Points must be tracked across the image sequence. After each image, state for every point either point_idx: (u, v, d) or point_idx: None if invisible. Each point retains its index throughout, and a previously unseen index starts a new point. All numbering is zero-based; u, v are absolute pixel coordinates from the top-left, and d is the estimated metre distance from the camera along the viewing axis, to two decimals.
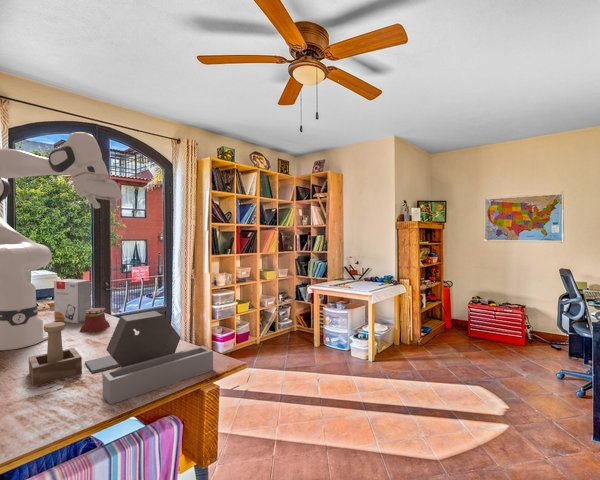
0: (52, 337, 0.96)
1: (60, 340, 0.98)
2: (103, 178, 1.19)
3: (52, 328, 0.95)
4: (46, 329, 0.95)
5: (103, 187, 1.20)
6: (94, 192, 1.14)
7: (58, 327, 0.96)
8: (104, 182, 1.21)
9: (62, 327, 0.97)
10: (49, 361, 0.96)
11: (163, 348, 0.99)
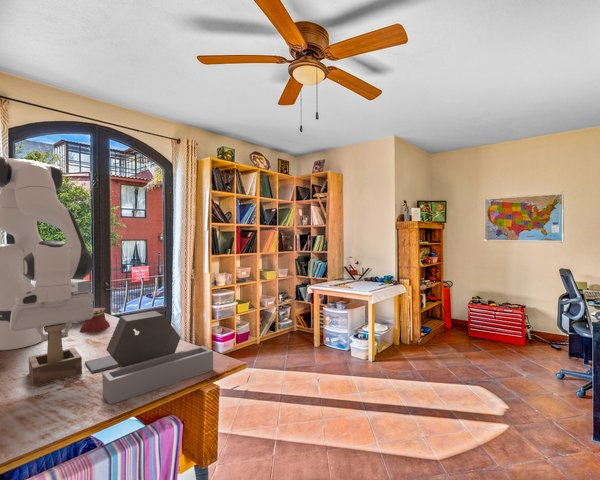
0: (52, 337, 0.96)
1: (60, 340, 0.98)
2: (53, 305, 0.95)
3: (52, 328, 0.95)
4: (46, 329, 0.95)
5: (54, 314, 0.96)
6: (29, 327, 0.93)
7: (58, 327, 0.96)
8: (60, 306, 0.98)
9: (62, 327, 0.97)
10: (49, 361, 0.96)
11: (163, 348, 0.99)
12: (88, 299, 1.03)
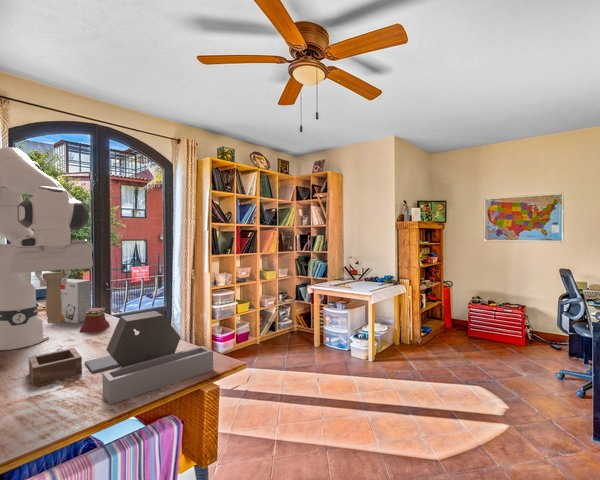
0: (51, 285, 0.96)
1: (59, 289, 0.98)
2: (52, 250, 0.95)
3: (50, 275, 0.95)
4: (44, 276, 0.95)
5: (53, 260, 0.96)
6: (28, 270, 0.92)
7: (56, 275, 0.96)
8: (59, 252, 0.97)
9: (60, 275, 0.97)
10: (47, 309, 0.96)
11: (163, 348, 0.99)
12: (87, 248, 1.02)
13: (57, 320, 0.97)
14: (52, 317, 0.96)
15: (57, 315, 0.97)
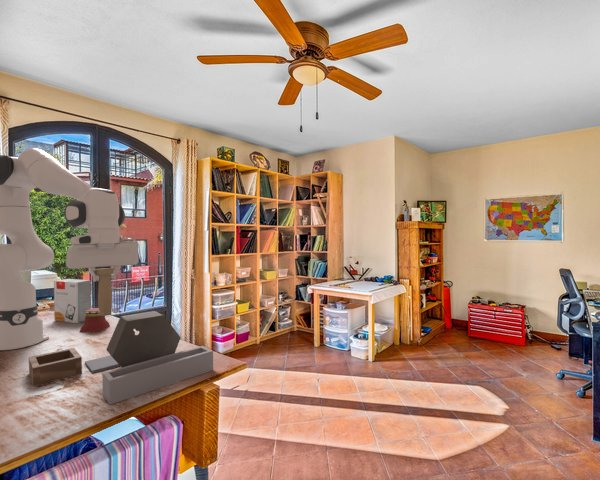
0: (103, 280, 1.03)
1: (109, 284, 1.05)
2: (105, 247, 1.02)
3: (103, 271, 1.02)
4: (97, 272, 1.02)
5: (104, 256, 1.03)
6: (84, 266, 0.99)
7: (108, 270, 1.03)
8: (110, 249, 1.04)
9: (111, 271, 1.04)
10: (100, 302, 1.03)
11: (163, 348, 0.99)
12: (134, 245, 1.09)
13: (108, 313, 1.04)
14: (104, 310, 1.03)
15: (108, 308, 1.04)
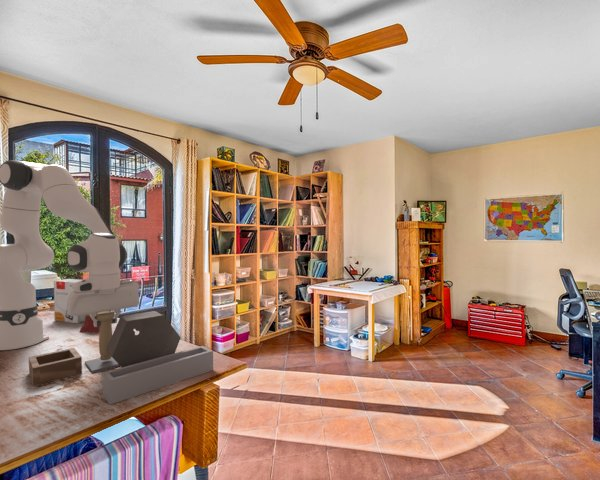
0: (104, 325, 1.03)
1: (110, 328, 1.05)
2: (106, 292, 1.02)
3: (104, 316, 1.02)
4: (98, 317, 1.02)
5: (105, 301, 1.03)
6: (84, 313, 0.99)
7: (109, 316, 1.03)
8: (111, 293, 1.05)
9: (112, 316, 1.04)
10: (101, 347, 1.03)
11: (163, 348, 0.99)
12: (135, 288, 1.10)
13: (109, 357, 1.05)
14: (105, 355, 1.04)
15: None
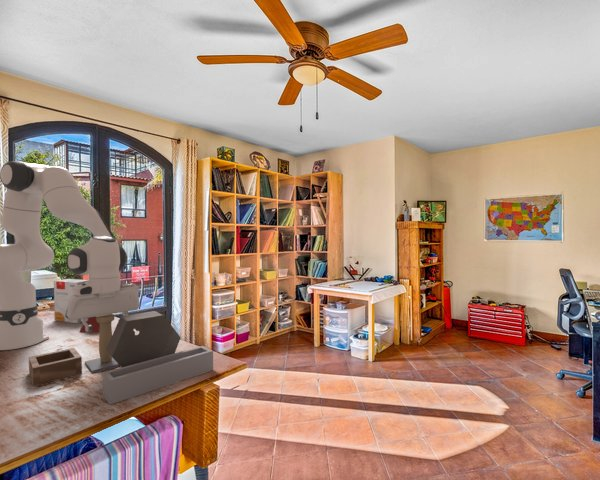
0: (104, 327, 1.03)
1: (110, 330, 1.05)
2: (106, 296, 1.02)
3: (104, 319, 1.02)
4: (98, 320, 1.02)
5: (105, 305, 1.03)
6: (85, 316, 0.99)
7: (109, 318, 1.03)
8: (111, 297, 1.05)
9: (112, 318, 1.04)
10: (101, 350, 1.03)
11: (163, 348, 0.99)
12: (135, 291, 1.10)
13: (109, 359, 1.05)
14: (105, 357, 1.04)
15: (109, 355, 1.04)
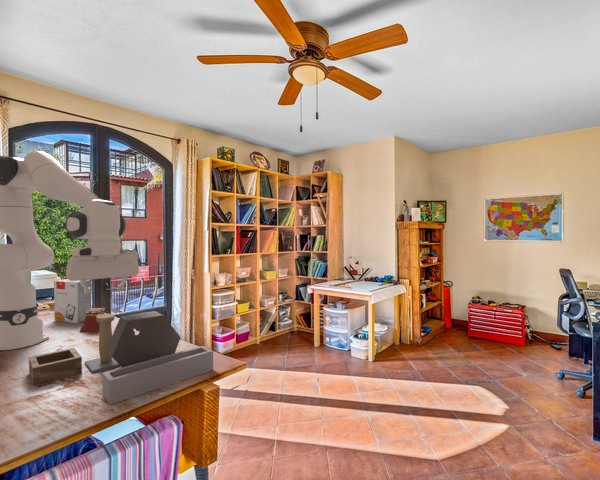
0: (104, 327, 1.03)
1: (110, 330, 1.05)
2: (105, 259, 1.02)
3: (104, 319, 1.02)
4: (98, 320, 1.02)
5: (105, 268, 1.03)
6: (84, 278, 0.99)
7: (109, 318, 1.03)
8: (111, 261, 1.04)
9: (112, 318, 1.04)
10: (101, 350, 1.03)
11: (163, 348, 0.99)
12: (134, 257, 1.09)
13: (109, 359, 1.05)
14: (105, 357, 1.04)
15: (109, 355, 1.04)
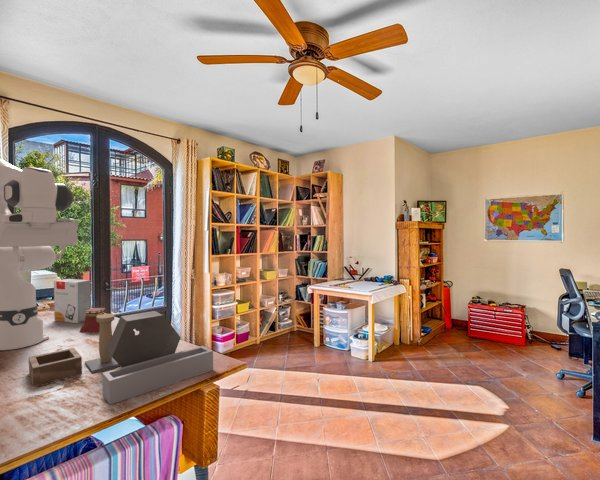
0: (104, 327, 1.03)
1: (110, 330, 1.05)
2: (38, 226, 1.01)
3: (104, 319, 1.02)
4: (98, 320, 1.02)
5: (39, 236, 1.02)
6: (15, 245, 0.98)
7: (109, 318, 1.03)
8: (45, 229, 1.04)
9: (112, 318, 1.04)
10: (101, 350, 1.03)
11: (163, 348, 0.99)
12: (72, 226, 1.09)
13: (109, 359, 1.05)
14: (105, 357, 1.04)
15: (109, 355, 1.04)
